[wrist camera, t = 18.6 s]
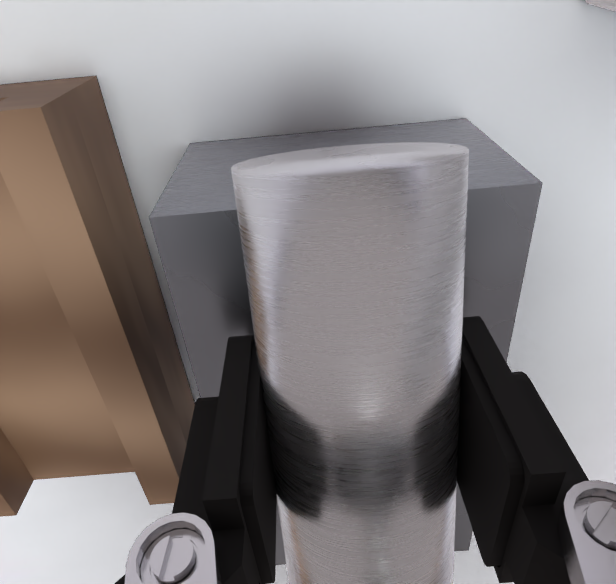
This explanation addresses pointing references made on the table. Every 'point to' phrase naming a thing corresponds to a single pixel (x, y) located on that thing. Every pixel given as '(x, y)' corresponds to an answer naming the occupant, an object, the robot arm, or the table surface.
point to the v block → (229, 256)
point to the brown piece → (79, 305)
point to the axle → (360, 352)
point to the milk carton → (603, 4)
